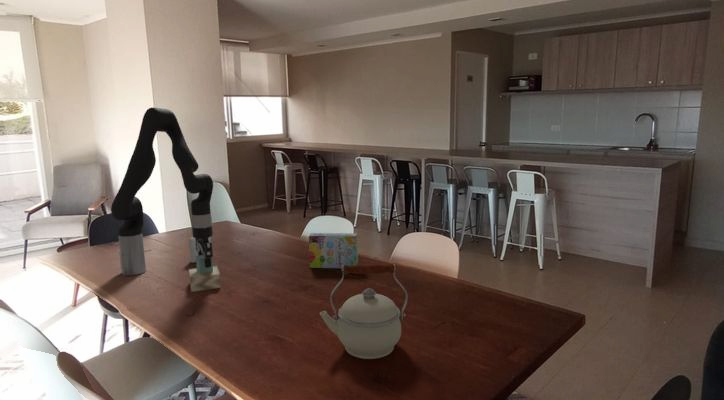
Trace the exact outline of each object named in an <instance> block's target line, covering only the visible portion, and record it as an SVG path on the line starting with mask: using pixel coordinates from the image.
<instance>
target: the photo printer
mask: <svg viewBox="0 0 724 400" xmlns="http://www.w3.org/2000/svg"><path fill="white" fill-rule="evenodd" d="M208 240H209V242H211V243H212V236H211V237H209V238H208ZM188 243H189V245H188V246H189V257H190V259H189V260H190V263H196V256H198V252H197V251H196V241H195V238H194V237H193V236H192V237H190V238H189V241H188ZM207 254H209V253H207Z"/></svg>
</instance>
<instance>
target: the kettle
mask: <svg viewBox="0 0 724 400" xmlns="http://www.w3.org/2000/svg"><path fill="white" fill-rule="evenodd" d="M340 269H341V272H342V277H341V279H340V281H338V283H337V284H336V285H335V287H334V288H333V289H332V291H331V293H330V299H329V302H330V305H331V308H332V310H333V313H334V314H335V315H332V316H330V315H329V314H328V312H327V311H326V310H322V311H320V312H319V315H320V317H321V318H322V320H323V321H324V322H325V324H326V326H327V327H328V329H329V330H330V331H331V332H333V334H335V335H336V336H337V338H338V339H339V340H340V342H341V344H342V345H343V346H344V349H345V350H346V352H347V353H348V354H349V355H350V356H353V357H354V358H357V359H363V360H374V359H375V360H376V359H381V358H384V357H386V356H388V355H390V354H391V353H392V352H393V351H394V349H395V345H397V343H398V342H399V340H400V338H401V335H402V324H401V320H402V321H403V318H404V317H406V313H404V311H405V309H406V307H407V304H408V300H409V299H408V298H409V296H408V292H407V290H406V288H405V287H404V286H403V285H402V283H401V282H400V281H399V280H398V279H397V277H396V269H397V268H396V264H394V263H390V264H379V263H378V264H377V263H375V264H372V263H371V264H370V263H369V264H358V265H354V266H348V265H343V268H340ZM383 273H389V274H393V279H394V280H395V281H396V282H397V284H398V285H399V286H400V287H401V288H402V290H403V292H404V293H405V301H404V302H403V303H404V304H403V306H402V308H401V311H400V309H399V307H398V306H397V305H396V304H395V302H394V301H393V300H392V299H390V298H389V297H388V296H385V295H383V294H379V293H377V292H376V291H375V290H374V289H373V288H370V287H368V288H365V289H364V290H363V291H362V293H359V294H356V295H353V296H351V297H349V298H348V299H347V300H346V301H344V303H343V304H342V306H341V307H340V308H339V309H338V311H337V310H336V308H335V305H334V303H333V299H332V298H333V297H332V296H333V294H334V292H335V291H337V289H338V287H339V286H340V285H341V284H342V283H343V281H344V277H345V275H349V274H355V275H356V274H359V275H363V274H365V275H367V274H368V275H369V274H371V275H372V274H383ZM400 319H401V320H400Z"/></svg>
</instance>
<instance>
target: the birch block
mask: <svg viewBox="0 0 724 400" xmlns="http://www.w3.org/2000/svg"><path fill="white" fill-rule="evenodd" d="M188 273H189V274H188V275H189V276H188V277H189V287H190V292H191V293H193V292H194V293H195V292H201V291H207V290H214V289H220V288H222V285H221V273H220V270H219V267H218V265H213V272H209V273H203V274H200V273H199V272H198V271H197V267H196V268H189V269H188Z"/></svg>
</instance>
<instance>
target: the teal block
mask: <svg viewBox="0 0 724 400" xmlns="http://www.w3.org/2000/svg"><path fill="white" fill-rule="evenodd" d="M207 255H209V254H207ZM213 262H214V261H213V257H211V267H208V268H206V267H205V258H204V255H200V256H196V262H195V263H196V265H195V266H196V268H197V271H198V272H199V273H200V274H203V273H209V272H213V266H214V264H213Z"/></svg>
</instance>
